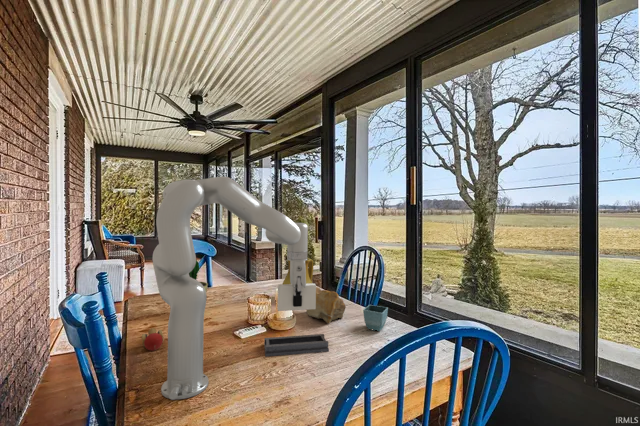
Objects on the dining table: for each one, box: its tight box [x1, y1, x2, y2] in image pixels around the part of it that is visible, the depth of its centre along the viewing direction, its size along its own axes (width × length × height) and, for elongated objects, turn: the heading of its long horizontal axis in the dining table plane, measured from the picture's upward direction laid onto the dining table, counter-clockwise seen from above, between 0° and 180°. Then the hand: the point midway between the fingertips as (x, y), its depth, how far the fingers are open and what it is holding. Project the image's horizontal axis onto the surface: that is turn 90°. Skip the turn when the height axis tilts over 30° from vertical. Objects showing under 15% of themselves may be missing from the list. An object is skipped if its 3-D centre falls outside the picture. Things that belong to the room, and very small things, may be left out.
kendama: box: [141, 327, 165, 351], centre depth 121 cm, size 8×6×18 cm
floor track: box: [263, 333, 330, 358], centre depth 119 cm, size 10×23×3 cm, turn 102°
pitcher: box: [282, 257, 314, 284], centre depth 178 cm, size 17×19×25 cm
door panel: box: [276, 282, 317, 312], centre depth 119 cm, size 4×14×9 cm, turn 102°
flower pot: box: [362, 304, 389, 332], centre depth 139 cm, size 9×9×9 cm
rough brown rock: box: [306, 286, 347, 324], centre depth 152 cm, size 23×17×15 cm
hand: (296, 304), depth 119 cm, fingers closed on door panel, 3 cm apart
